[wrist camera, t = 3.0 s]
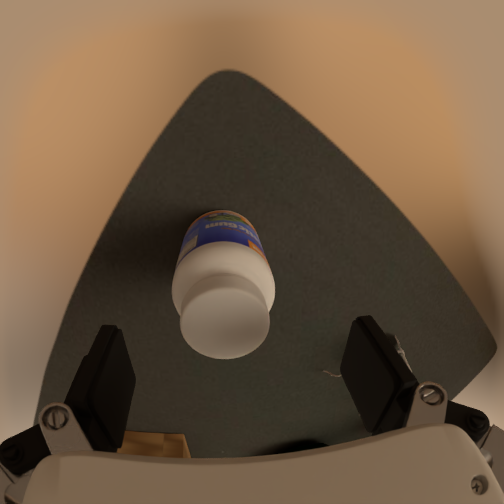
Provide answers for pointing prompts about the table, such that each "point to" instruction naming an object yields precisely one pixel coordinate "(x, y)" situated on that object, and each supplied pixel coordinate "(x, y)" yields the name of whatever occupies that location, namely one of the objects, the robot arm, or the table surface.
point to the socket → (154, 445)
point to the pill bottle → (223, 286)
